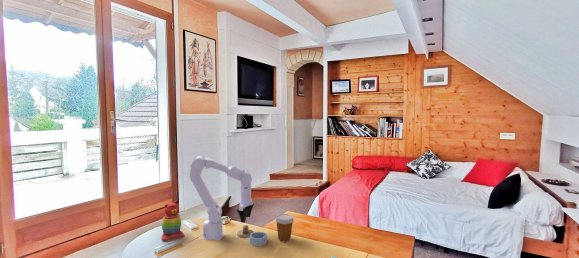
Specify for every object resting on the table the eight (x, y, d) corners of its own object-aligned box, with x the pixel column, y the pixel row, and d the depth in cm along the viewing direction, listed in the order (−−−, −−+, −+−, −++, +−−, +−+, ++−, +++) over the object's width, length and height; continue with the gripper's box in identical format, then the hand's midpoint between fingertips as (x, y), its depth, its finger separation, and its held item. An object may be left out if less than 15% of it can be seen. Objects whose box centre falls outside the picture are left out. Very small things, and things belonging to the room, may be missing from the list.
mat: (234, 238, 143) (234, 236, 143) (240, 231, 152) (240, 230, 152) (250, 239, 141) (250, 238, 141) (256, 232, 150) (256, 231, 150)
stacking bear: (163, 242, 137) (163, 207, 136) (158, 235, 145) (158, 202, 144) (185, 237, 144) (185, 203, 143) (179, 230, 152) (179, 199, 151)
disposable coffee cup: (291, 244, 137) (291, 221, 136) (273, 242, 139) (273, 219, 138) (294, 236, 146) (295, 214, 146) (277, 234, 148) (278, 212, 148)
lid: (234, 236, 143) (234, 228, 143) (240, 230, 152) (240, 222, 152) (250, 238, 141) (250, 230, 141) (256, 231, 150) (256, 224, 150)
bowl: (247, 246, 135) (247, 238, 134) (252, 238, 143) (253, 230, 143) (264, 247, 133) (264, 239, 133) (269, 240, 141) (269, 232, 141)
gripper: (248, 199, 138) (248, 225, 138) (257, 191, 152) (257, 215, 153) (235, 198, 139) (235, 224, 140) (245, 190, 153) (245, 214, 154)
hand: (245, 219), depth 146 cm, fingers open, 7 cm apart
